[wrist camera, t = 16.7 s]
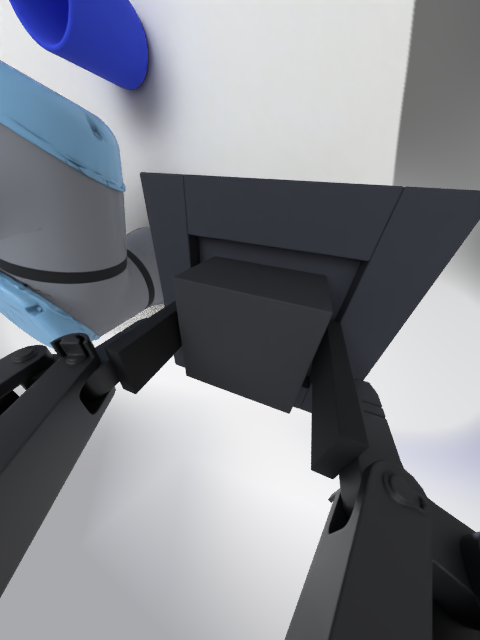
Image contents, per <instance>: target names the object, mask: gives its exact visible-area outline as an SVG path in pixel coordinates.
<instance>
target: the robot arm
mask: <svg viewBox="0 0 480 640" xmlns="http://www.w3.org/2000/svg"><path fill="white" fill-rule="evenodd" d="M125 191H126V189H125V185H124V183H123V178H122V169H121V159H120V150H119V146H118V143H117V140H116V138H115V136H114V134H113V133H112V131H111V130H110V129H109V127H108V126H107V125H106V124H105V123H104V122H103V121H102V120H101V119H100V118H98V117H97V116H95V115H94V114H92V113H90V112H89V111H87V110H85V109H84V108H82V107H80V106H79V105H77V104H75V103H73V102H72V101H70V100H68V99H67V98H65V97H63V96H61V95H60V94H58V93H56V92H54V91H53V90H51V89H49V88H47V87H46V86H44V85H42V84H41V83H39V82H37V81H35V80H34V79H32V78H30V77H28V76H27V75H25V74H23V73H21V72H20V71H18V70H16V69H15V68H13V67H11V66H9V65H8V64H6V63H4V62H2V61H1V60H0V312H1V313H2V314H3V315H5V316H6V317H7V318H8V319H9V320H10V321H12V322H13V323H14V324H16V325H17V326H18V327H19V328H21V329H22V330H23V331H25V332H26V333H28V334H29V335H30V336H32V337H33V338H35V339H36V340H38V341H40V342H41V343H43V344H45V345H47V346H49V347H51V348H53V349H55V351H56V352H57V354H51V353H50V351H49V350H48V349H47V347H46V346H43V345H34V346H28V347H25V348H22V349H19V350H17V351H15V352H13V353H11V354H9V355H7V356H6V357H4V358H2V359H0V597H1V595H2V594H3V592H4V590H5V588H6V587H7V584H8V583H9V581H10V579H11V578H12V576H13V574H14V572H15V570H16V569H17V567H18V565H19V563H20V562H21V560H22V558H23V556H24V554H25V553H26V551H27V549H28V547H29V546H30V544H31V542H32V540H33V538H34V537H35V535H36V533H37V531H38V529H39V528H40V526H41V524H42V522H43V520H44V519H45V517H46V515H47V513H48V512H49V510H50V508H51V506H52V505H53V503H54V501H55V499H56V497H57V496H58V494H59V492H60V490H61V488H62V487H63V485H64V483H65V481H66V479H67V478H68V476H69V474H70V472H71V471H72V469H73V467H74V465H75V463H76V462H77V460H78V458H79V456H80V455H81V453H82V451H83V449H84V447H85V446H86V444H87V442H88V440H89V439H90V437H91V435H92V433H93V431H94V430H95V428H96V426H97V424H98V422H99V421H100V419H101V417H102V415H103V413H104V412H105V410H106V408H107V406H108V405H109V403H110V401H111V399H112V397H113V396H114V393H115V391H116V389H115V385H116V384H117V383H118V382H120V383H121V385H122V387H123V389H125V390H127V391H130V392H132V393H134V394H136V393H137V392H138V391H139V390H140V389H141V388H142V387H143V386H144V385H145V384H146V383H147V382H148V381H149V380H150V379H151V378H152V377H153V376H154V375H155V374H156V373H157V372H158V371H159V370H160V368H161V367H162V366H163V365H164V364H165V363H166V362H167V361H168V360H169V359H170V358H171V357H172V356H173V355H174V354H175V353H176V352H177V351H178V350H179V349H180V348H181V347H182V342H181V335H180V328H179V321H178V314H177V307H176V300H175V301H174V302H172V303H171V304H169V305H167V306H166V307H164V308H163V309H161V310H160V311H158V312H157V313H155V314H154V315H152V316H151V317H149V318H144V319H142V320H139V321H137V322H135V323H133V324H132V325H130V326H129V328H128V327H127V328H126V329H124V330H123V331H122V332H119V333H118V334H116V335H115V336H113V337H112V338H110V339H108V340H107V341H105V342H104V343H102V344H101V345H99V346H97V347H96V348H95V347H94V345H93V344H92V342H91V341H93V340H97V339H99V338H100V337H101V336H102V335H104V334H106V333H107V332H109V331H110V330H112V329H114V328H115V327H117V326H119V325H120V324H122V323H123V322H125V321H127V320H128V319H130V318H131V317H133V316H135V315H136V314H138V313H140V312H141V311H143V310H144V309H146V308H148V307H149V306H153V305H159V304H164V299H163V294H162V289H161V283H160V278H159V273H158V267H157V262H156V257H155V251H154V246H153V241H152V235H151V230H150V227H145V228H139V229H136V230H134V231H132V232H130V233H129V234H127V235H126V229H125V212H124V194H123V192H125ZM19 385H21V386H23V388H24V389H25V390H26V391H25V392H24V393H23V394H22V395H21V396H20V397H19V396H18V395H17V394H16V393H15V392H14V391H13V389H15V388H16V387H18V386H19ZM381 407H382V405H381V402H380V399H379V397H378V394H377V393H376V391H375V390H374V389H373V387H372V386H371V385H370V383H368V382H365V381H362V380H358V379H355V378H353V374H352V370H351V366H350V361H349V357H348V353H347V348H346V344H345V340H344V335H343V331H342V327H341V323H339V322H334V321H329V324H328V326H327V328H326V331H325V333H324V335H323V338H322V340H321V342H320V344H319V347H318V349H317V351H316V354H315V356H314V358H313V361H312V442H311V445H312V446H311V470H312V471H315V472H317V473H320V474H322V475H324V476H326V477H329V478H331V479H334V478H335V477H336V476H337V475H338V474H339V479H340V489H338V490H337V491H336V492H334V493H333V494H332V495H331V497H330V498H329V499H328V500H329V501H330V502H331V503H332V502H333V504H332V507H331V510H330V512H329V515H328V518H327V521H326V524H325V527H324V530H323V532H322V536H321V538H320V541H319V544H318V547H317V549H316V552H315V555H314V558H313V561H312V564H311V566H310V569H309V572H308V575H307V578H306V581H305V583H304V586H303V589H302V592H301V595H300V598H299V600H298V603H297V606H296V609H295V612H294V615H293V618H292V620H291V623H290V626H289V629H288V632H287V634H286V637H285V640H480V532H475V531H473V530H472V529H471V528H469V527H468V526H466V525H465V524H463V523H462V522H460V521H459V520H458V519H456V518H455V517H453V516H452V515H450V514H449V513H448V512H446V511H445V510H443V509H442V508H440V507H439V506H438V505H436V504H435V503H434V502H432V501H431V500H430V499H428V498H427V496H426V494H425V492H424V491H423V489H422V488H421V486H420V485H419V484H418V482H417V481H416V480H415V479H414V477H413V476H412V475H410V474H409V473H408V472H407V471H406V470H405V469H404V468H403V465H402V463H401V461H400V458H399V455H398V452H397V449H396V446H395V443H394V440H393V437H392V435H391V432H390V429H389V426H388V423H387V420H386V419H385V414H384V411H383V409H382V408H381Z"/></svg>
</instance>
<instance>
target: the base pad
mask: <svg viewBox="0 0 480 640" xmlns="http://www.w3.org/2000/svg"><path fill="white" fill-rule="evenodd" d="M140 177H141V182H142V187H143V193H144V198H145V203H146V209H147V214H148V219H149V225H150V230H151V235H152V241H153V246H154V251H155V257H156V262H157V267H158V273H159V278H160V283H161V289H162V294H163V299H164V305H165V307H166V306H167V305H169V304H171V303H172V302H174V301H175V293H174V286H173V279H172V277H174V276H176V275H178V274H180V273H182V272H184V271H186V270H188V269H190V268H192V267H194V266H196V265H198V264H200V263H202V262H204V261H206V260H208V259H211V258H213V257H215V256H218V257H224V258H229V259H235V260H241V261H246V262H252V263H258V264H263V265H269V266H275V267H280V268H286V269H292V270H298V271H303V272H309V273H315V274H320V275H326V276H327V282H328V287H329V293H330V299H331V304H332V310H333V314H332V317H331V319H330V321H334V322H339V323H341V327H342V331H343V335H344V340H345V344H346V348H347V353H348V357H349V361H350V366H351V370H352V374H353V378H355V379H358V380H362V381H363V380H364V379H365V377H366V376H367V374H368V373H369V372H370V370H371V369H372V368H373V366H374V364H375V363H376V362H377V361H378V359H379V358H380V357H381V355H382V354H383V352H384V351H385V350H386V348H387V347H388V345H389V344H390V343H391V341H392V340H393V339H394V337H395V336H396V334H397V333H398V332H399V330H400V329H401V327H402V326H403V325H404V323H405V322H406V321H407V319H408V318H409V316H410V315H411V314H412V312H413V311H414V309H415V308H416V307H417V305H418V304H419V302H420V301H421V300H422V298H423V297H424V296H425V294H426V293H427V292H428V290H429V289H430V287H431V286H432V285H433V283H434V282H435V280H436V279H437V278H438V276H439V275H440V274H441V272H442V271H443V269H444V268H445V267H446V265H447V264H448V262H449V261H450V260H451V258H452V257H453V256H454V254H455V253H456V251H457V250H458V249H459V247H460V246H461V245H462V243H463V242H464V240H465V239H466V238H467V236H468V235H469V234H470V232H471V231H472V229H473V228H474V226H475V225H476V224H477V222H478V221H479V220H480V191H476V190H457V189H440V188H422V187H402V186H386V185H367V184H349V183H331V182H312V181H294V180H276V179H257V178H239V177H221V176H202V175H183V174H165V173H146V172H141V173H140ZM174 358H175V363H176V364H177V365H179V366H182V367H185V362H184V355H183V348H182V347H181V348H180V349H179V350H178V351H177V352H176V353H175V354H174ZM293 407H296V408H300V409H302V410H305V411H308V412H310V413H312V363H311V365H310V368H309V370H308V372H307V375H306V377H305V379H304V381H303V384H302V386H301V388H300V391H299V393H298V395H297V398H296V400H295V402H294V405H293Z"/></svg>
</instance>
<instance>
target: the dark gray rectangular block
mask: <svg viewBox="0 0 480 640" xmlns="http://www.w3.org/2000/svg"><path fill="white" fill-rule="evenodd" d="M172 279H173V286H174V293H175V300H176V307H177V314H178V321H179V328H180V335H181V342H182V348H183V355H184V362H185V369H186V375H187V376H189V377H192V378H194V379H197V380H200V381H202V382H205V383H208V384H210V385H213V386H216V387H218V388H221V389H224V390H227V391H229V392H232V393H235V394H238V395H240V396H243V397H245V398H248V399H251V400H254V401H256V402H259V403H262V404H264V405H267V406H270V407H272V408H275V409H278V410H281V411H283V412H286V413H290V411H291V409H292V407H293V405H294V402H295V400H296V398H297V395H298V393H299V391H300V388H301V386H302V384H303V381H304V379H305V377H306V375H307V372H308V370H309V368H310V365H311V363H312V361H313V358H314V356H315V354H316V351H317V349H318V347H319V344H320V342H321V340H322V338H323V335H324V333H325V331H326V328H327V326H328V324H329V321H330V319H331V317H332V314H333V310H332V304H331V299H330V293H329V287H328V282H327V276H326V275H320V274H315V273H309V272H303V271H298V270H292V269H286V268H280V267H275V266H269V265H263V264H258V263H252V262H246V261H241V260H235V259H229V258H224V257H218V256H215V257H213V258H211V259H208V260H206V261H204V262H202V263H200V264H198V265H196V266H194V267H192V268H190V269H188V270H186V271H184V272H182V273H180V274H178V275H176V276H174V277H172Z"/></svg>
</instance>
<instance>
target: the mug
mask: <svg viewBox="0 0 480 640" xmlns="http://www.w3.org/2000/svg"><path fill="white" fill-rule="evenodd" d="M9 1H10V3H11V5H12V7H13V9H14V11H15V13H16V15H17V16H18V18H19V20H20V22H21V23H22V25H23V26H24V28H25V29H26V30H27V32H28V33H29V34H30V36H31V37H32V38H33V39H34V40H35V41H36V42H37V43H38V44H39V45H40V46H41V47H43V48H44V49H46V50H48V51H49V52H51V53H54V54H56V55H58V56H60V57H62V58H64V59H66V60H68V61H70V62H72V63H74V64H76V65H78V66H80V67H82V68H84V69H86V70H88V71H90V72H92V73H94V74H96V75H98V76H100V77H102V78H104V79H106V80H108V81H110V82H112V83H114V84H116V85H118V86H120V87H122V88H125V89H135V88H137V87H139V86H140V85H141V84H142V82H143V80H144V78H145V76H146V72H147V66H148V49H147V42H146V37H145V33H144V30H143V27H142V24H141V22H140V19H139V17H138V15H137V13H136V11H135V10H134V8H133V6H132V5H131V3H130V2H129V0H9Z"/></svg>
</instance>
